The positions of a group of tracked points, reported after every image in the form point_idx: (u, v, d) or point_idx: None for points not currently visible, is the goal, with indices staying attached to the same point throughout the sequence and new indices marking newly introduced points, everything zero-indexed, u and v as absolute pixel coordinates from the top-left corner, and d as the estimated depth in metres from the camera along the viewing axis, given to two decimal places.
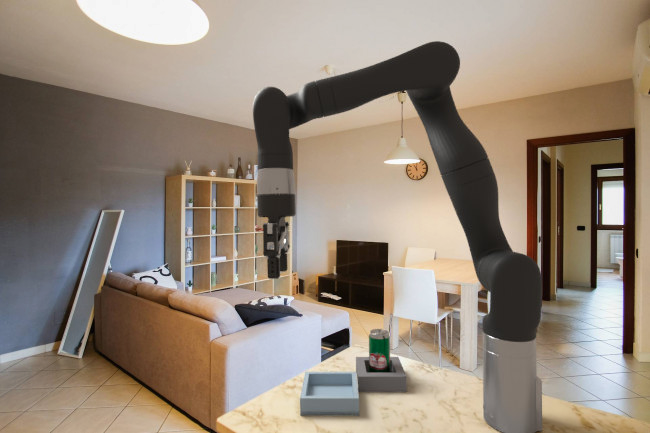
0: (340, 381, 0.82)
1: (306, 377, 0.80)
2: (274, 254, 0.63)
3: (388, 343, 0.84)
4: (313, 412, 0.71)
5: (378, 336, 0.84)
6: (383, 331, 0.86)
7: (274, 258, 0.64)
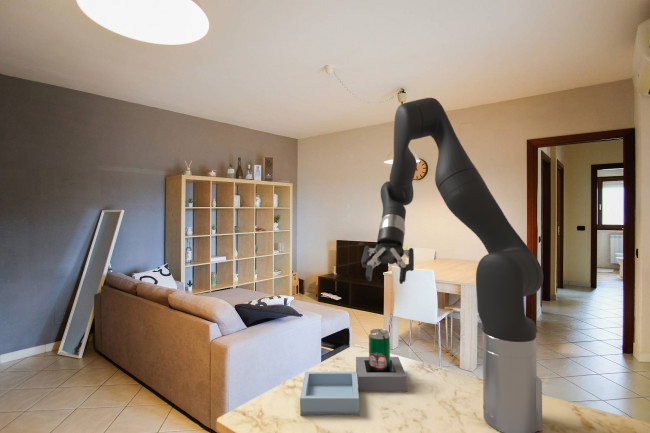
0: (340, 381, 0.82)
1: (306, 377, 0.80)
2: (361, 262, 0.98)
3: (388, 343, 0.84)
4: (313, 412, 0.71)
5: (378, 336, 0.84)
6: (383, 331, 0.86)
7: (366, 266, 0.97)
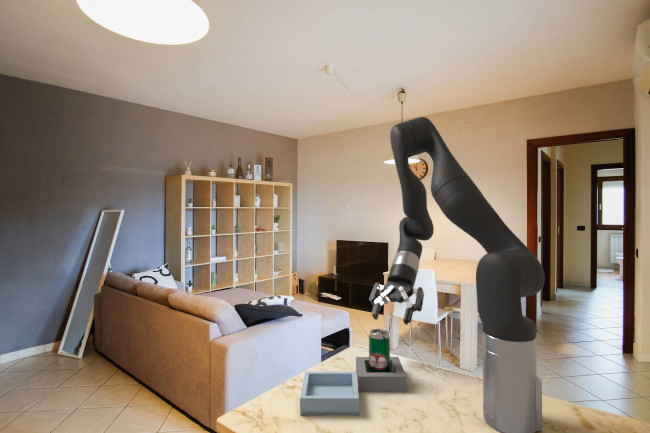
0: (340, 381, 0.82)
1: (306, 377, 0.80)
2: None
3: (388, 343, 0.84)
4: (313, 412, 0.71)
5: (378, 336, 0.84)
6: (383, 331, 0.86)
7: (374, 304, 0.96)
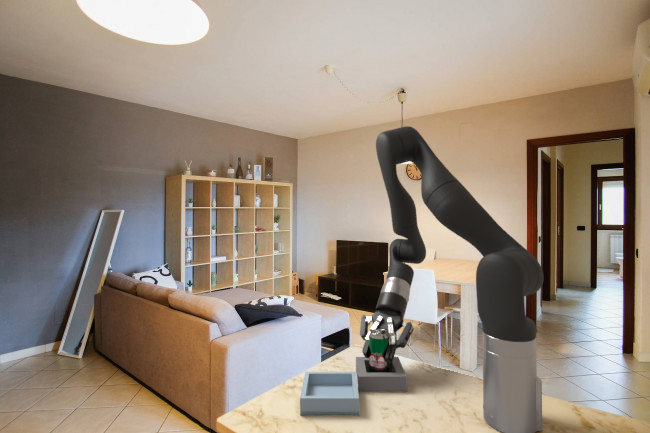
0: (340, 381, 0.82)
1: (306, 377, 0.80)
2: None
3: (388, 343, 0.84)
4: (313, 412, 0.71)
5: (378, 336, 0.84)
6: (383, 331, 0.86)
7: (365, 340, 0.88)
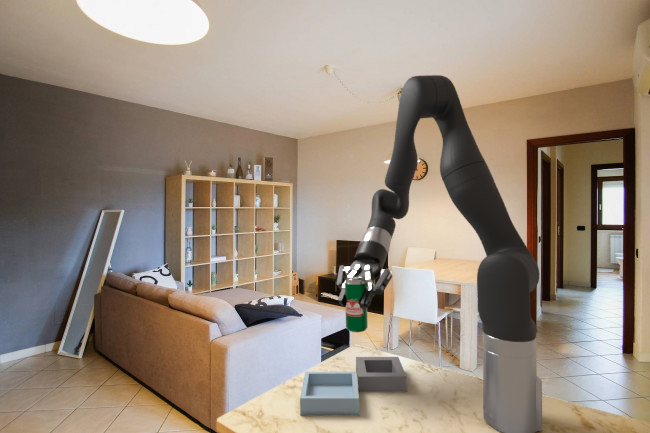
0: (340, 381, 0.82)
1: (306, 377, 0.80)
2: (337, 284, 0.86)
3: (364, 289, 0.80)
4: (313, 412, 0.71)
5: (354, 281, 0.80)
6: (360, 278, 0.82)
7: (342, 289, 0.84)
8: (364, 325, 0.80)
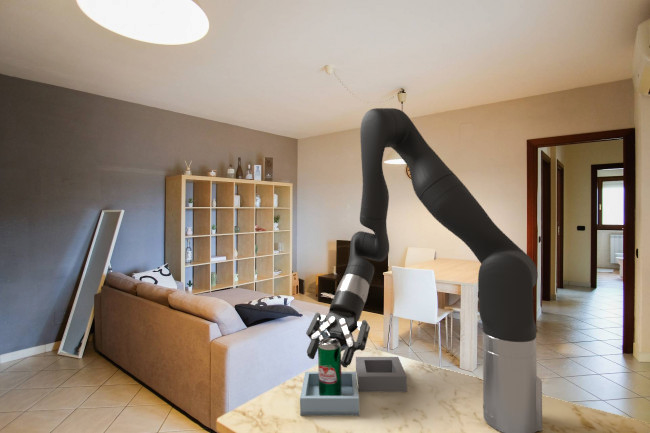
0: None
1: (306, 377, 0.80)
2: (307, 334, 0.82)
3: (338, 354, 0.76)
4: (313, 412, 0.71)
5: (327, 346, 0.75)
6: (334, 341, 0.77)
7: None
8: (337, 392, 0.75)
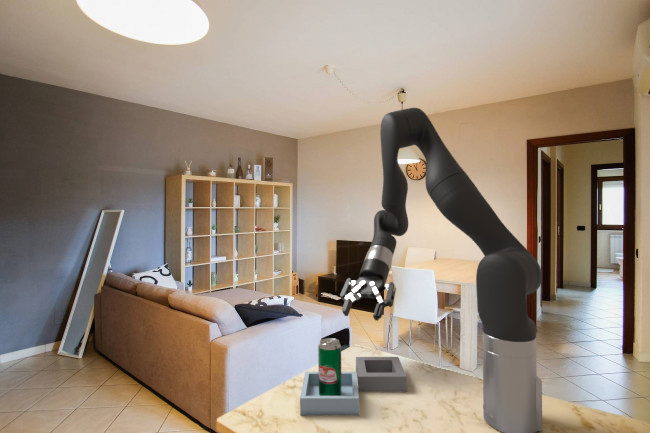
0: None
1: (306, 377, 0.80)
2: None
3: (339, 354, 0.76)
4: (313, 412, 0.71)
5: (327, 347, 0.75)
6: (334, 341, 0.77)
7: (345, 300, 0.93)
8: (337, 392, 0.75)
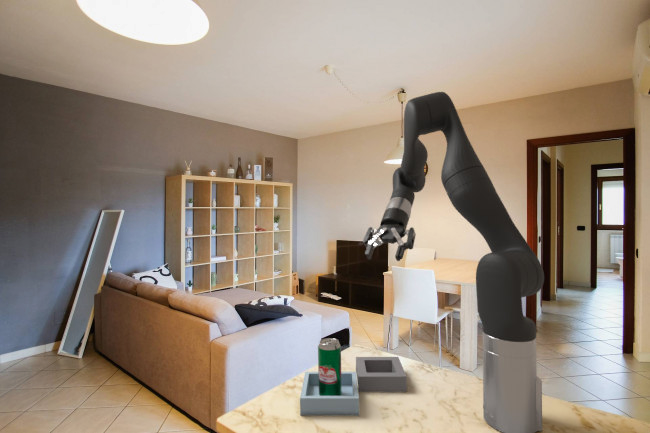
0: None
1: (306, 377, 0.80)
2: (363, 242, 1.01)
3: (338, 354, 0.76)
4: (313, 412, 0.71)
5: (327, 347, 0.75)
6: (334, 341, 0.77)
7: (367, 245, 1.00)
8: (337, 392, 0.75)
